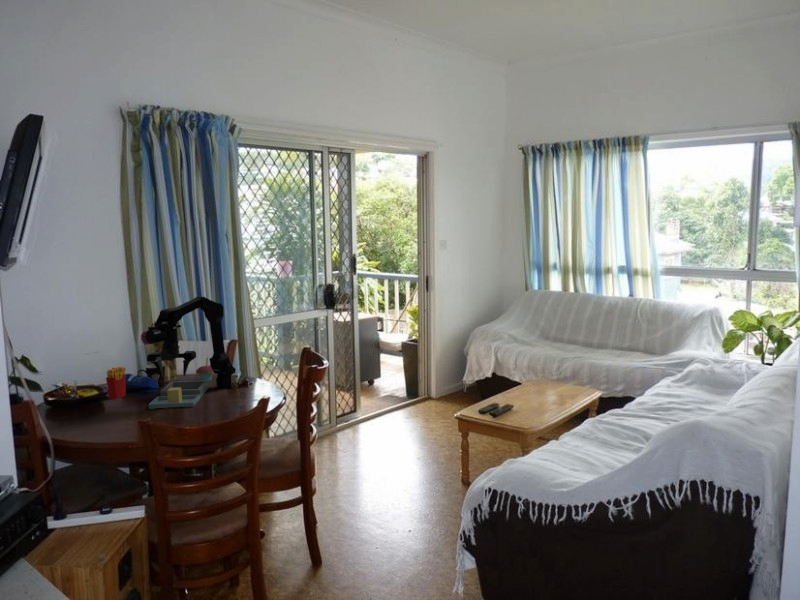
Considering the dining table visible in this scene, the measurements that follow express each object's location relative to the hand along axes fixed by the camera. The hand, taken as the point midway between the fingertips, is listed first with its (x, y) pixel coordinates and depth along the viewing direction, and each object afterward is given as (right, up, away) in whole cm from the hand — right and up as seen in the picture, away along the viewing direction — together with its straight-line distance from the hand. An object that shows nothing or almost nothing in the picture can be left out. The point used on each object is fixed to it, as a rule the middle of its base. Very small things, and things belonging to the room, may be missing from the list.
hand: (173, 376), depth 264 cm
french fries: (-30, -11, +15) cm, 35 cm away
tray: (0, -12, +2) cm, 12 cm away
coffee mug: (-20, -9, +31) cm, 38 cm away
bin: (-1, -10, +18) cm, 21 cm away
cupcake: (+1, -7, +40) cm, 41 cm away
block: (0, -11, +2) cm, 11 cm away
